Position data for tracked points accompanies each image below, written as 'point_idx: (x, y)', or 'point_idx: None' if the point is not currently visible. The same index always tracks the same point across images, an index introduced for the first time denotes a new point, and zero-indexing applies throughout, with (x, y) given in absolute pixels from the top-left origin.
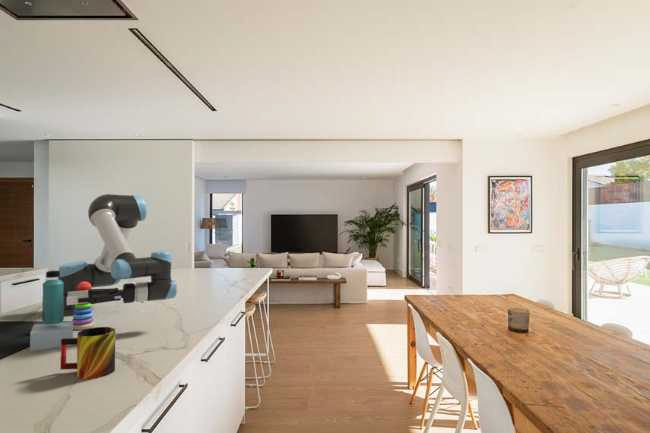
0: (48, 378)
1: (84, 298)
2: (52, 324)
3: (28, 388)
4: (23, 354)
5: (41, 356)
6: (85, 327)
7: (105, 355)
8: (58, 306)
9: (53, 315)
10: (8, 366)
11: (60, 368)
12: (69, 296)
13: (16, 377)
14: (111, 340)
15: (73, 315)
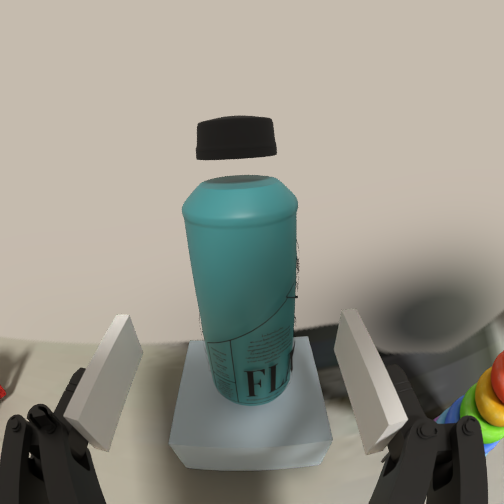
0: (7, 379)
1: (62, 397)
2: (292, 381)
3: (3, 355)
4: (182, 366)
5: (133, 395)
6: None
7: None
8: (206, 337)
9: (205, 352)
10: None
11: (3, 389)
12: (340, 343)
13: (49, 352)
14: None
15: (449, 407)
